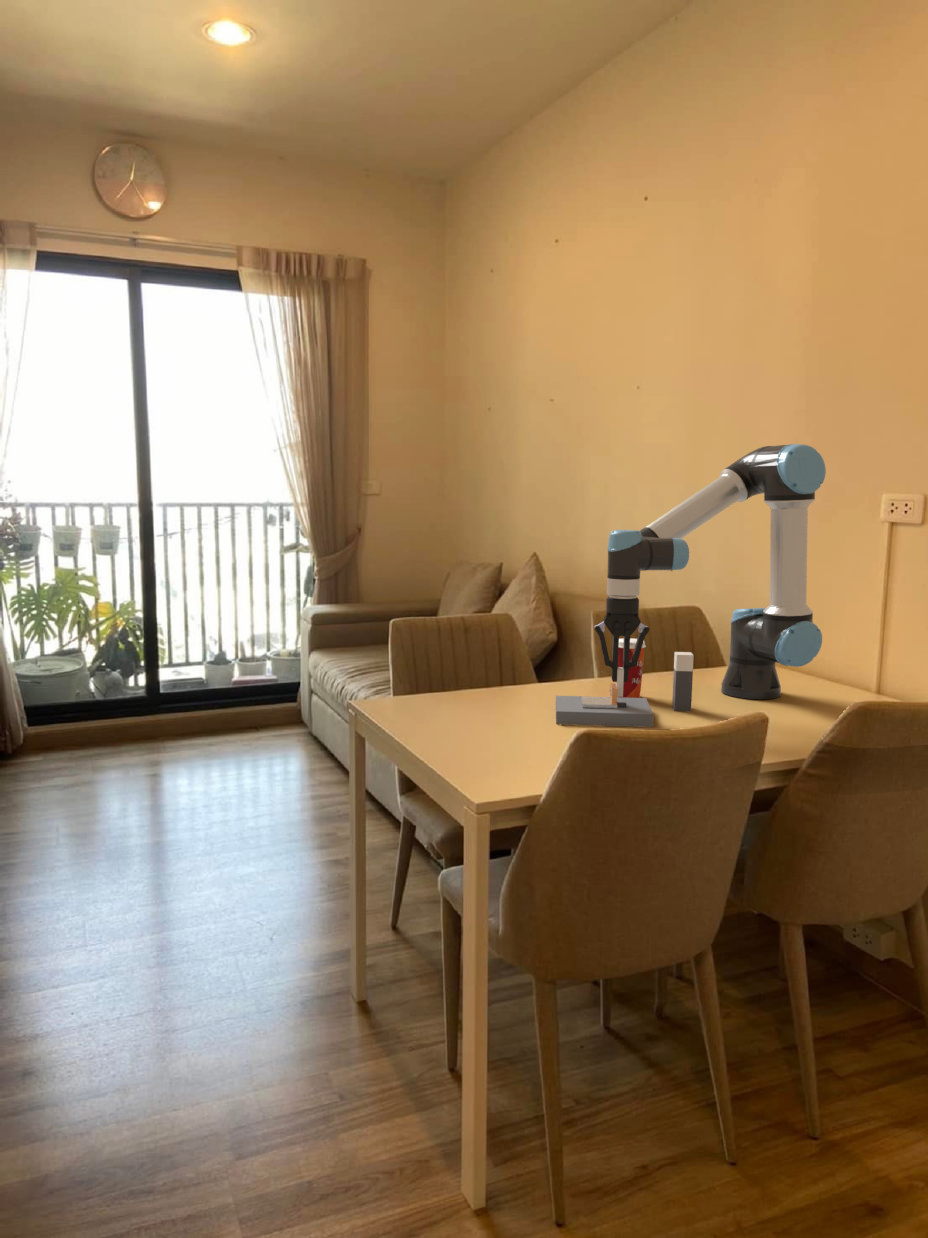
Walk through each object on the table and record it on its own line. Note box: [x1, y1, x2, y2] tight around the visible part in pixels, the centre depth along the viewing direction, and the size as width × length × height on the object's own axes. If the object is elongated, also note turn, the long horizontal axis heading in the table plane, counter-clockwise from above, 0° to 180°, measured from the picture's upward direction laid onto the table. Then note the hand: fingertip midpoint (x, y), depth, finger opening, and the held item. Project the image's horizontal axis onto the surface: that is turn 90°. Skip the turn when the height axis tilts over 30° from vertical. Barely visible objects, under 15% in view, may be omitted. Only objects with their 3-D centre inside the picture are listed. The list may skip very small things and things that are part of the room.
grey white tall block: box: [671, 651, 695, 712], centre depth 219 cm, size 4×4×14 cm
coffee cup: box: [618, 637, 647, 698], centre depth 232 cm, size 8×8×15 cm
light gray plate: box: [581, 683, 617, 709], centre depth 212 cm, size 8×8×4 cm
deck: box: [555, 695, 654, 728], centre depth 212 cm, size 22×16×3 cm
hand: (619, 695), depth 211 cm, fingers closed
